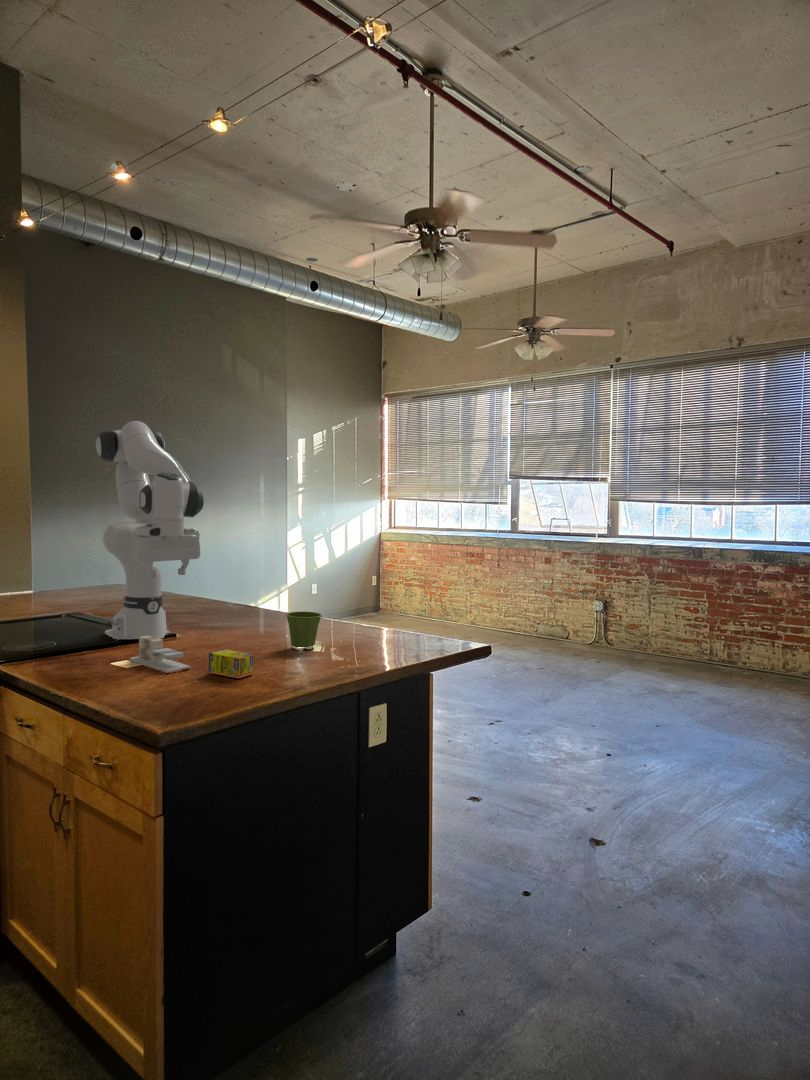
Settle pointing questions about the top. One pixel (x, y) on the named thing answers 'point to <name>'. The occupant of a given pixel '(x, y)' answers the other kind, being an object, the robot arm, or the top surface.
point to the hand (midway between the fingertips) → (167, 575)
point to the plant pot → (303, 628)
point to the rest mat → (160, 664)
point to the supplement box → (230, 662)
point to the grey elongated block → (156, 650)
